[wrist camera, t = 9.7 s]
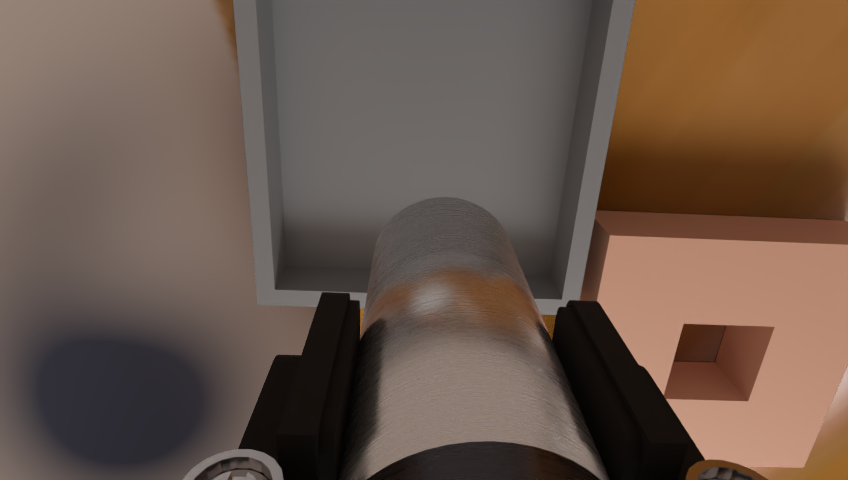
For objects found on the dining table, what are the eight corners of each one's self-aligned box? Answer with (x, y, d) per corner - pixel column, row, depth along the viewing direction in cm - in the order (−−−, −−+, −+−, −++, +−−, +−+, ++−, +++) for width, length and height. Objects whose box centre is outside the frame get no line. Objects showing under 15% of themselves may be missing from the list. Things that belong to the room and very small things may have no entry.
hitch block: (844, 220, 33) (899, 246, 29) (766, 424, 39) (803, 467, 36) (587, 209, 32) (609, 235, 29) (550, 419, 39) (564, 462, 35)
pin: (520, 199, 15) (756, 619, 5) (504, 324, 16) (655, 844, 6) (373, 194, 15) (283, 615, 4) (372, 321, 16) (302, 846, 6)
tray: (611, -32, 27) (642, -39, 24) (558, 283, 34) (576, 315, 31) (253, -53, 27) (227, -64, 23) (274, 272, 34) (257, 304, 30)
